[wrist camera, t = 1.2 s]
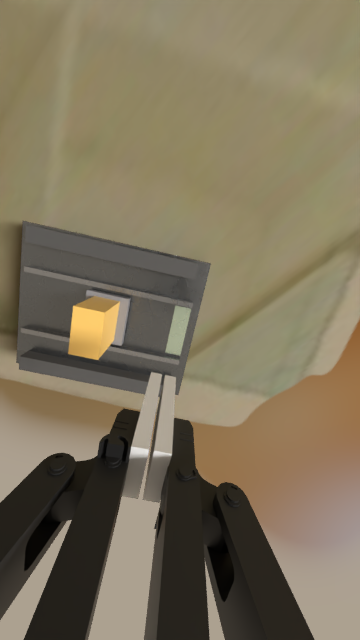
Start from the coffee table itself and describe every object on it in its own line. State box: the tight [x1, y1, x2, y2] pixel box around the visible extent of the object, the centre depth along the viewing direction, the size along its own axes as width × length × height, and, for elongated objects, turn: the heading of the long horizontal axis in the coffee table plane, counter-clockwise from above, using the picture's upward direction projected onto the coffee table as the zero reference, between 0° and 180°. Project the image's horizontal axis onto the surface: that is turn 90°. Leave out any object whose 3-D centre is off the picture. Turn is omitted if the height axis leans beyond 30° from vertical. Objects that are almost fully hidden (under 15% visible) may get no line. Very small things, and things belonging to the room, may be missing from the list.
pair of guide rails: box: [19, 225, 199, 397], centre depth 29 cm, size 17×19×2 cm
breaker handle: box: [68, 289, 131, 360], centre depth 26 cm, size 6×5×7 cm
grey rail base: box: [16, 221, 211, 395], centre depth 31 cm, size 18×22×5 cm
